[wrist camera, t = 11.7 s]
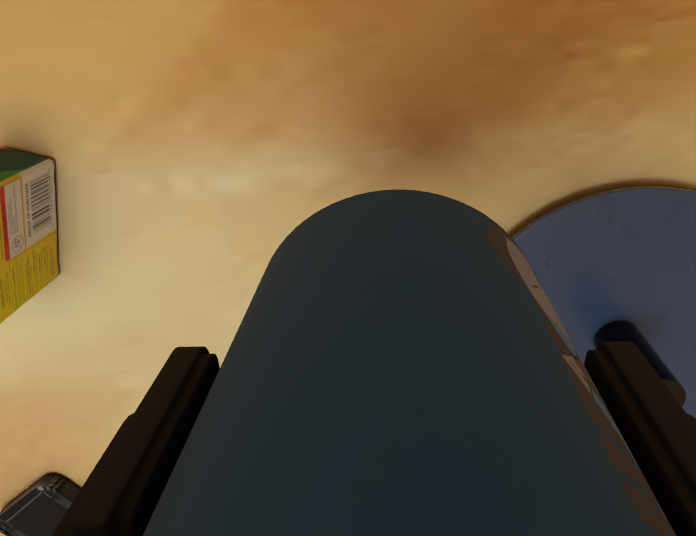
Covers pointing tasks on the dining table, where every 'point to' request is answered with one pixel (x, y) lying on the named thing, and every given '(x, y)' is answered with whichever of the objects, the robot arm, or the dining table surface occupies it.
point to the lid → (624, 275)
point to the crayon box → (26, 227)
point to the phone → (38, 507)
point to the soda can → (404, 394)
